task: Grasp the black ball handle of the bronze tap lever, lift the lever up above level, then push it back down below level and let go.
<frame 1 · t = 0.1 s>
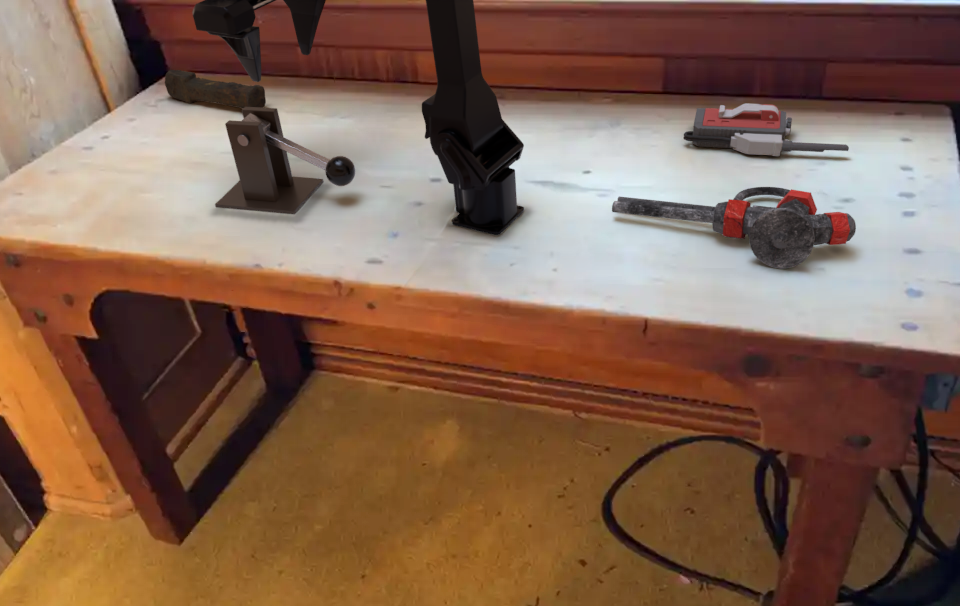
hand: (282, 67, 110), 15 cm above the workbench, tool pointing down, fingers open, 9 cm apart
lever: (299, 151, 109), point 7 cm above the workbench, hinge at -24.0°
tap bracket: (271, 199, 115), on the workbench
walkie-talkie: (762, 144, 116), on the workbench
hand tool: (212, 106, 141), on the workbench
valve: (731, 225, 102), on the workbench
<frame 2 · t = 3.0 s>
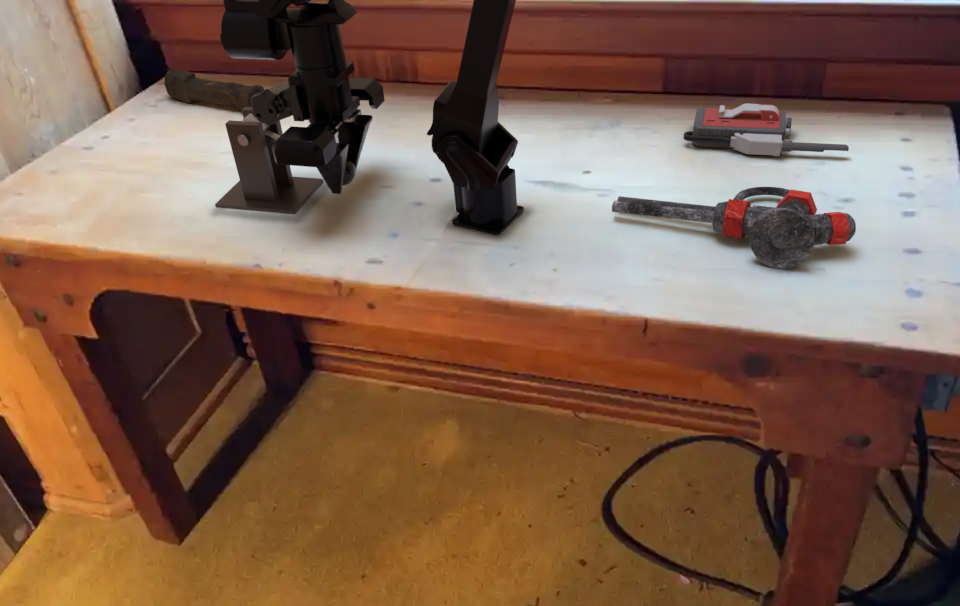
hand: (343, 185, 110), 3 cm above the workbench, tool pointing down, fingers closed on lever, 3 cm apart
lever: (299, 151, 109), point 7 cm above the workbench, hinge at -24.0°, touching gripper
everything else where it was.
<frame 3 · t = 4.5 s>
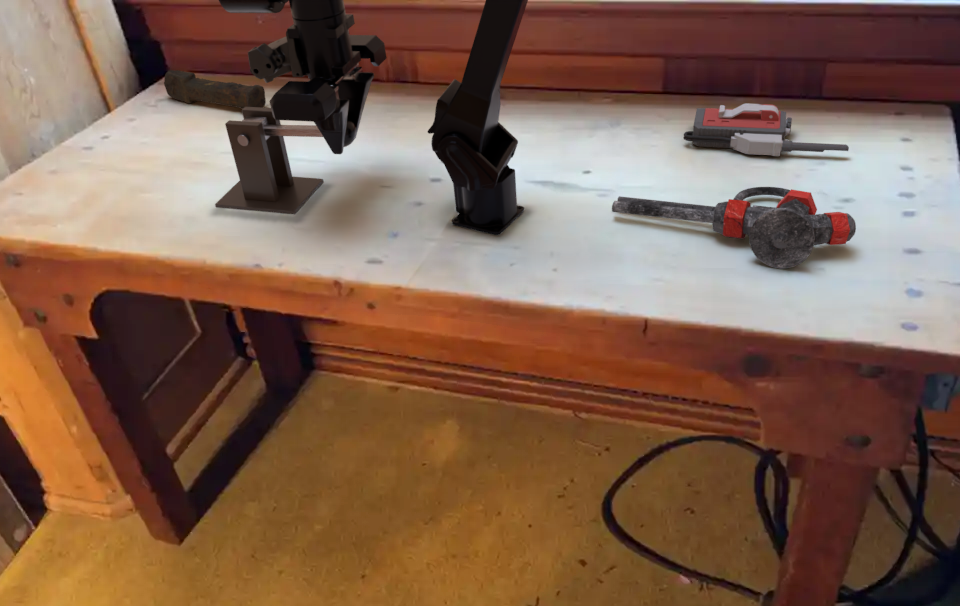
hand: (344, 146, 106), 8 cm above the workbench, tool pointing down, fingers closed on lever, 3 cm apart
lever: (298, 130, 107), point 10 cm above the workbench, hinge at 2.5°, touching gripper
everything else where it was.
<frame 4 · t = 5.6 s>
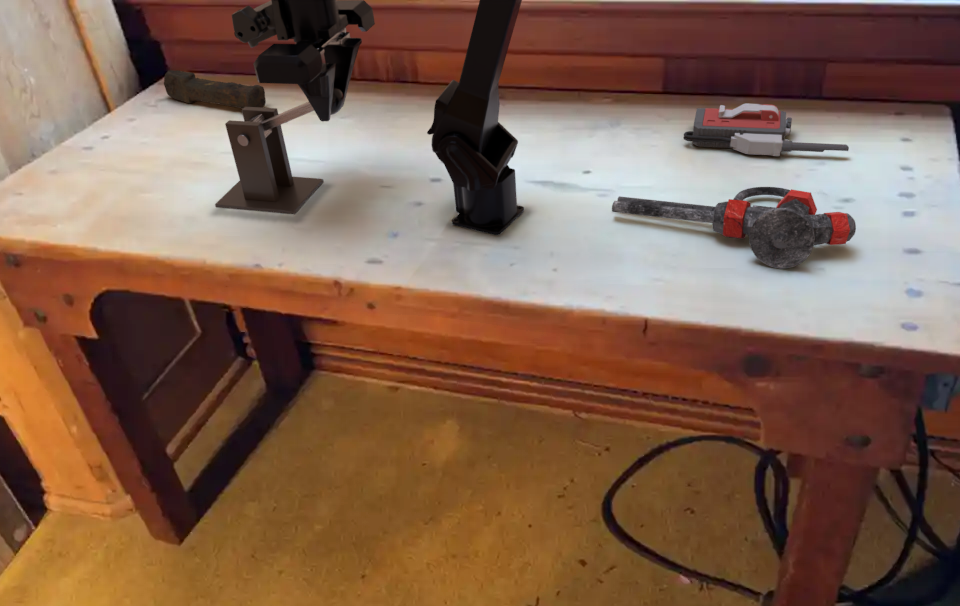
hand: (332, 113, 104), 12 cm above the workbench, tool pointing down, fingers closed on lever, 3 cm apart
lever: (291, 114, 106), point 12 cm above the workbench, hinge at 22.6°, touching gripper
everything else where it was.
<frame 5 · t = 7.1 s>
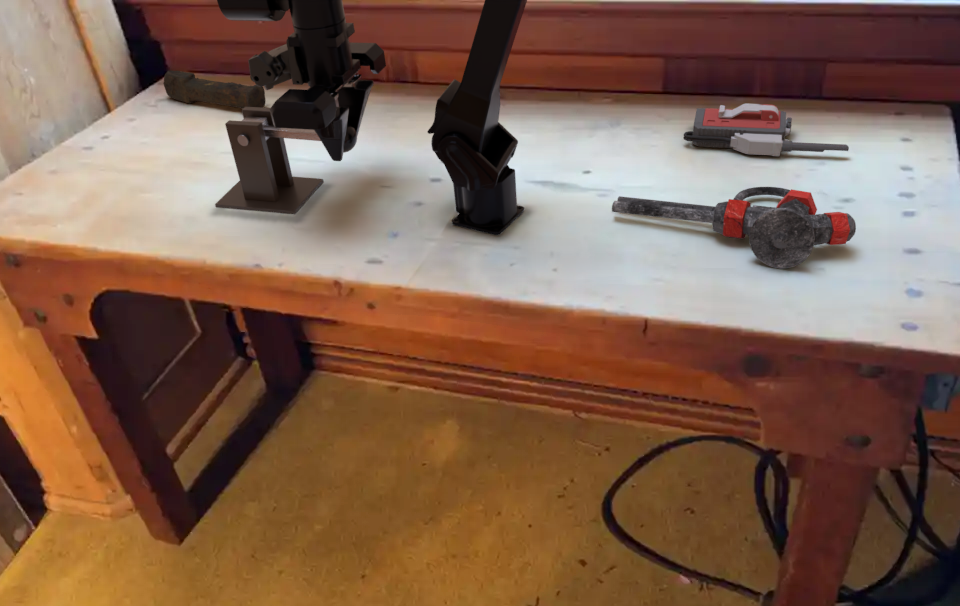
hand: (344, 153, 107), 7 cm above the workbench, tool pointing down, fingers closed on lever, 3 cm apart
lever: (299, 133, 107), point 9 cm above the workbench, hinge at -1.0°, touching gripper
everything else where it was.
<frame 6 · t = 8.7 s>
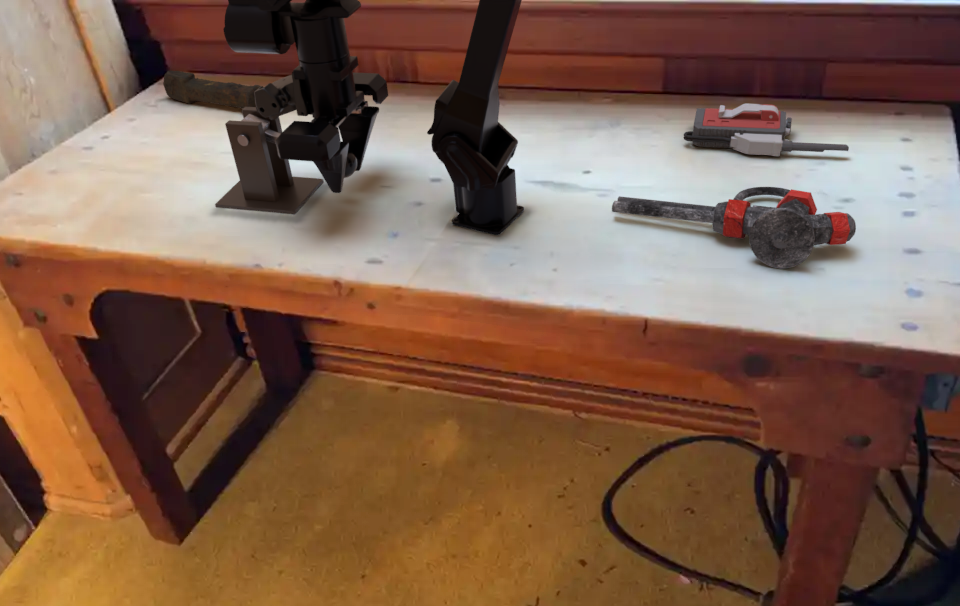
hand: (346, 181, 109), 4 cm above the workbench, tool pointing down, fingers open, 5 cm apart
lever: (299, 146, 108), point 8 cm above the workbench, hinge at -18.1°
everything else where it was.
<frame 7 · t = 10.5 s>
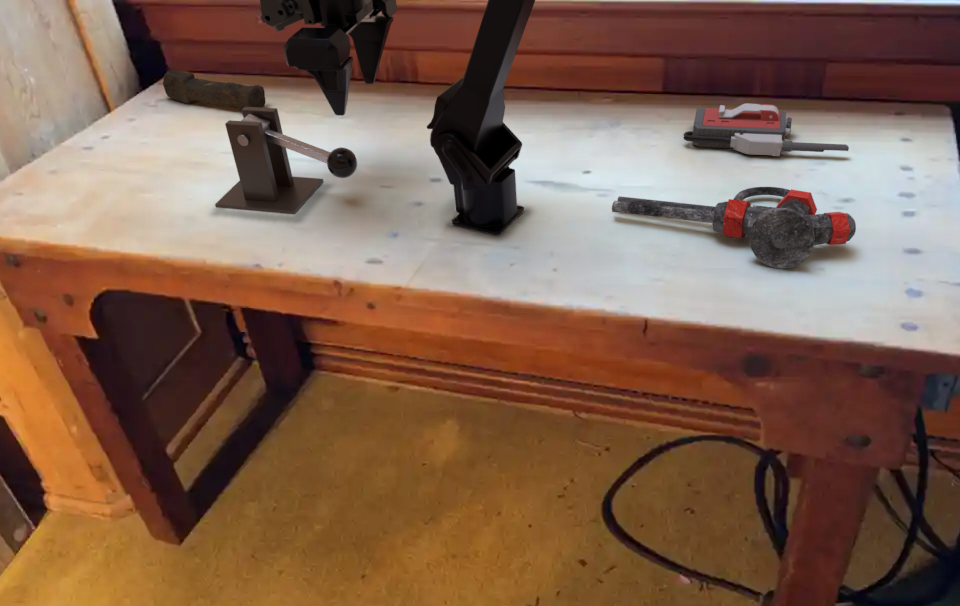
hand: (355, 98, 105), 13 cm above the workbench, tool pointing down, fingers open, 9 cm apart
nothing on the workbench moved.
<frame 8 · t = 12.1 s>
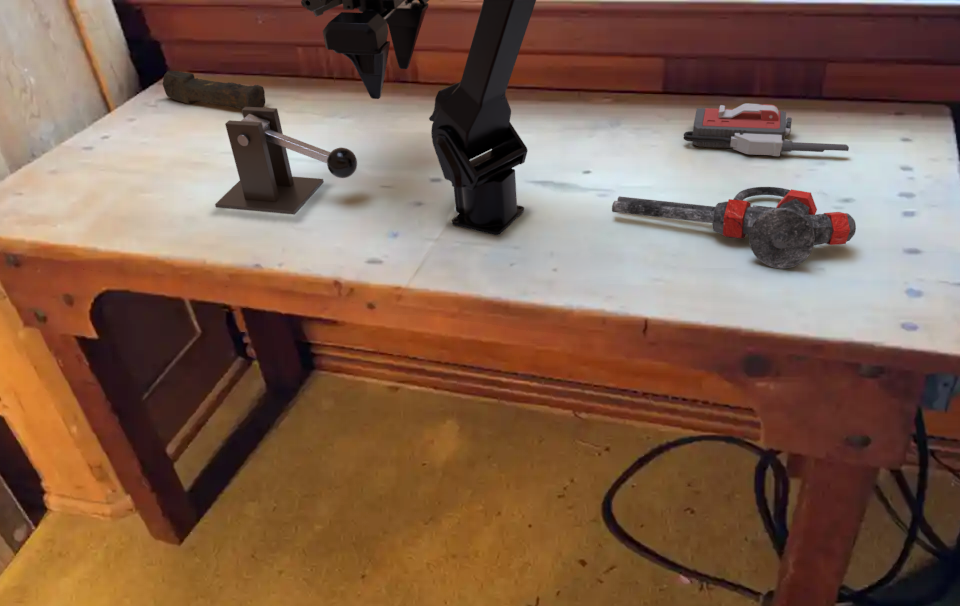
hand: (390, 82, 108), 13 cm above the workbench, tool pointing down, fingers open, 9 cm apart
nothing on the workbench moved.
at the end: lever reached +23° during the clip, -18° at the end; lever at -18° (first picture: -24°) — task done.
